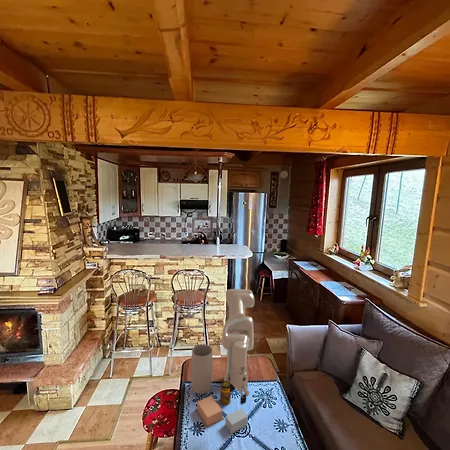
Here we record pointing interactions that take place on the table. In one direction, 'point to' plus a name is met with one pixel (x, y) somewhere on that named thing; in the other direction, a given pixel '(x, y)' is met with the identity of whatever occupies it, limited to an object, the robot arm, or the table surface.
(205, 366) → the cylinder vase
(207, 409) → the brick
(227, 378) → the robot arm
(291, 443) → the table surface
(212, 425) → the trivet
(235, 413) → the brick
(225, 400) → the condiment
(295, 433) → the table surface
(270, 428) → the table surface
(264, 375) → the table surface
